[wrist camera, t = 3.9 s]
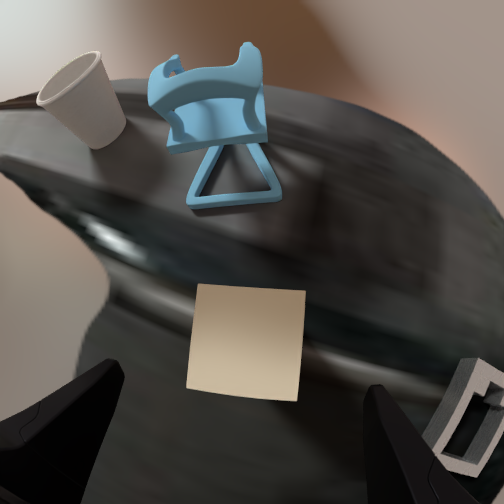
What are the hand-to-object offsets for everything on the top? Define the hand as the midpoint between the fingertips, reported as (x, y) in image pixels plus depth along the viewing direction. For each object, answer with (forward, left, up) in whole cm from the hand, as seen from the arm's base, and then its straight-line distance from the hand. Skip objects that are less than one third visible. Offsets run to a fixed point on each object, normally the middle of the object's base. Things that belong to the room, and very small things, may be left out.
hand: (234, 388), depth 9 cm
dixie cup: (+18, +25, -11) cm, 33 cm away
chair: (+15, +7, -11) cm, 20 cm away
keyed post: (+2, 0, -10) cm, 10 cm away
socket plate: (-2, -18, -10) cm, 20 cm away
